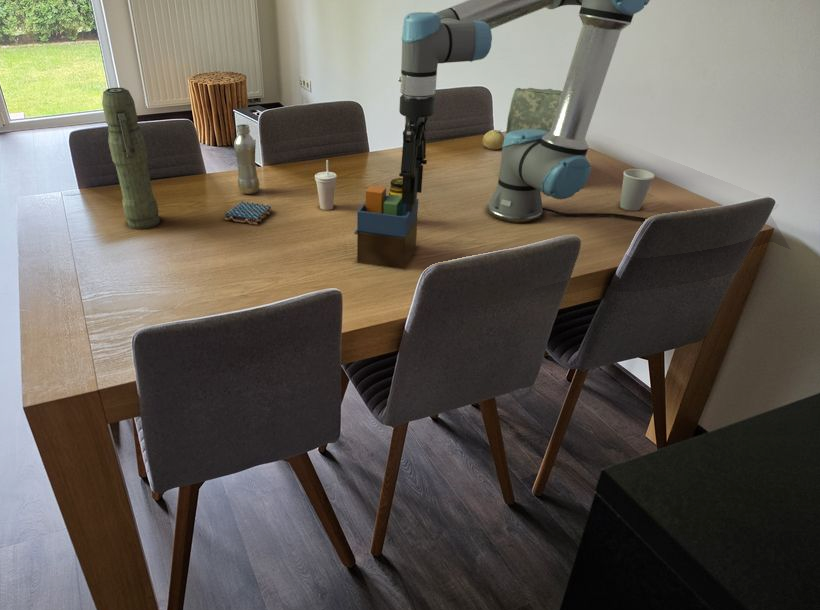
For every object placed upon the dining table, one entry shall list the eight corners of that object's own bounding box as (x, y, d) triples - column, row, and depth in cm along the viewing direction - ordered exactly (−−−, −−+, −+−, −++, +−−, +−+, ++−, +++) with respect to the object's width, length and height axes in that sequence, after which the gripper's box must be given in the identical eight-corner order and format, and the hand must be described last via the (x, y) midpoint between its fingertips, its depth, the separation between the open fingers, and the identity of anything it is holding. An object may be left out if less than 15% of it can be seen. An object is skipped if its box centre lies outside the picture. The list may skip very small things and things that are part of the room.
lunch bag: (578, 174, 203) (597, 86, 187) (563, 189, 191) (582, 97, 176) (513, 162, 212) (526, 78, 196) (496, 176, 201) (508, 88, 185)
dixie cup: (649, 206, 180) (659, 173, 174) (638, 214, 175) (648, 180, 170) (622, 199, 185) (630, 166, 179) (610, 207, 180) (618, 173, 174)
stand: (416, 245, 159) (418, 214, 154) (402, 270, 148) (404, 237, 143) (370, 239, 162) (371, 208, 157) (353, 262, 151) (353, 230, 146)
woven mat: (223, 220, 172) (222, 213, 171) (241, 207, 180) (240, 200, 179) (256, 226, 169) (255, 219, 168) (273, 211, 177) (272, 205, 176)
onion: (481, 151, 223) (484, 131, 219) (481, 144, 230) (484, 125, 225) (504, 152, 222) (506, 132, 218) (503, 145, 228) (506, 126, 224)
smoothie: (334, 212, 177) (333, 164, 169) (313, 210, 178) (311, 163, 170) (339, 204, 182) (339, 157, 174) (318, 202, 183) (317, 155, 175)
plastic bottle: (234, 194, 188) (226, 127, 177) (245, 187, 193) (239, 122, 182) (253, 197, 186) (246, 130, 175) (263, 190, 191) (258, 124, 180)
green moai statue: (154, 212, 177) (128, 83, 157) (165, 226, 168) (139, 92, 148) (122, 218, 173) (92, 86, 153) (132, 233, 165) (101, 96, 145)
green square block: (402, 218, 151) (403, 195, 148) (395, 228, 147) (396, 204, 143) (389, 217, 152) (390, 194, 149) (383, 226, 148) (383, 203, 144)
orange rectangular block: (385, 218, 152) (386, 187, 147) (381, 224, 149) (381, 192, 144) (370, 216, 153) (370, 185, 148) (365, 222, 150) (365, 191, 145)
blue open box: (418, 218, 153) (422, 162, 145) (406, 237, 144) (410, 179, 136) (371, 212, 156) (372, 157, 148) (357, 230, 147) (357, 173, 139)
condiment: (407, 229, 167) (409, 186, 160) (377, 225, 169) (378, 183, 162) (413, 218, 173) (415, 177, 166) (384, 215, 175) (385, 174, 168)
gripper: (411, 83, 140) (406, 181, 153) (388, 104, 124) (384, 211, 138) (443, 86, 138) (436, 184, 151) (424, 107, 122) (417, 215, 136)
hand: (411, 197), depth 144 cm, fingers open, 7 cm apart
